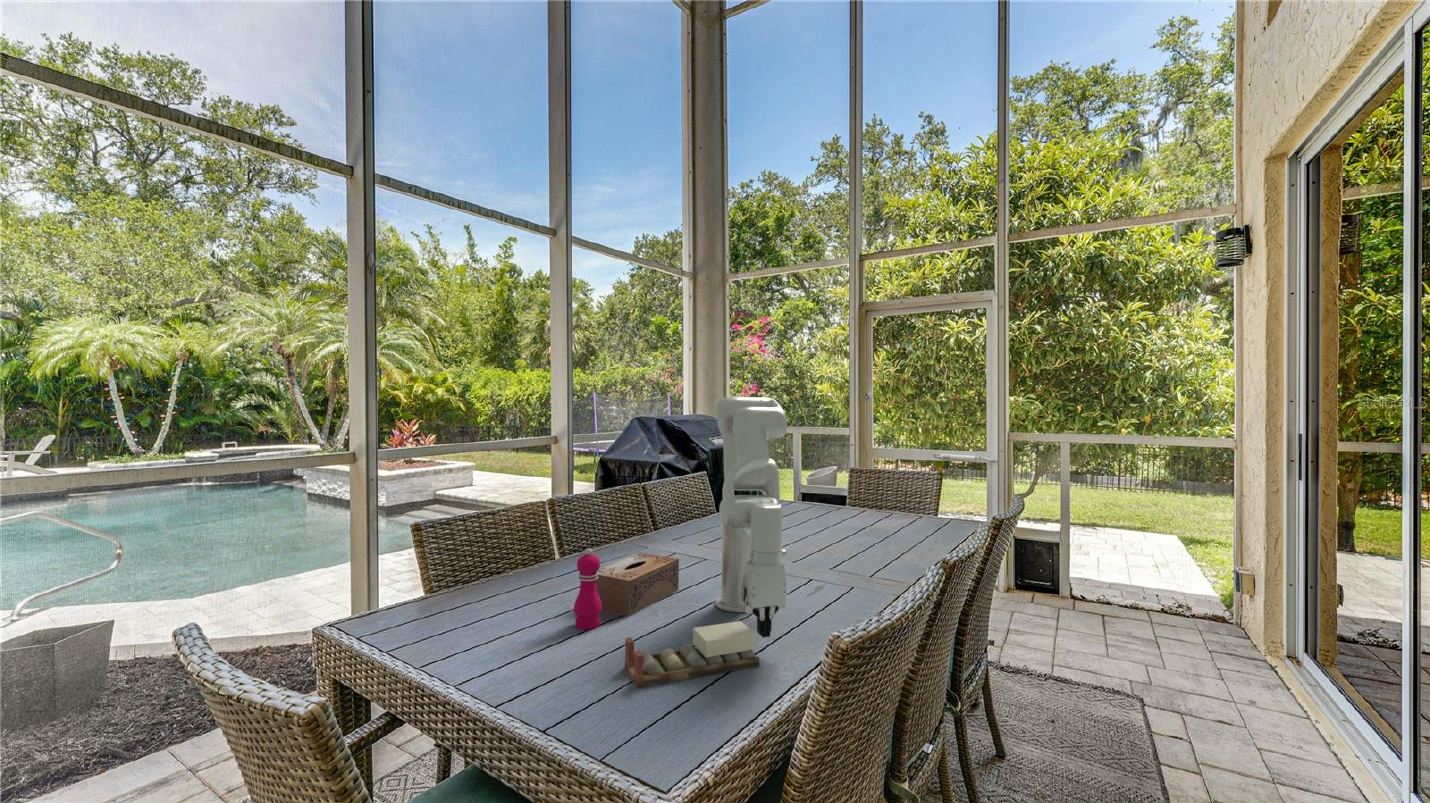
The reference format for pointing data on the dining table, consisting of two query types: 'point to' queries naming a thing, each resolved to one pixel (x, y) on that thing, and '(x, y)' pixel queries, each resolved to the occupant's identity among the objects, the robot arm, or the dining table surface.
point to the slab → (724, 639)
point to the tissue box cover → (636, 582)
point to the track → (696, 664)
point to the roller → (671, 660)
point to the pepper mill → (588, 592)
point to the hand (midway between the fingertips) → (764, 634)
